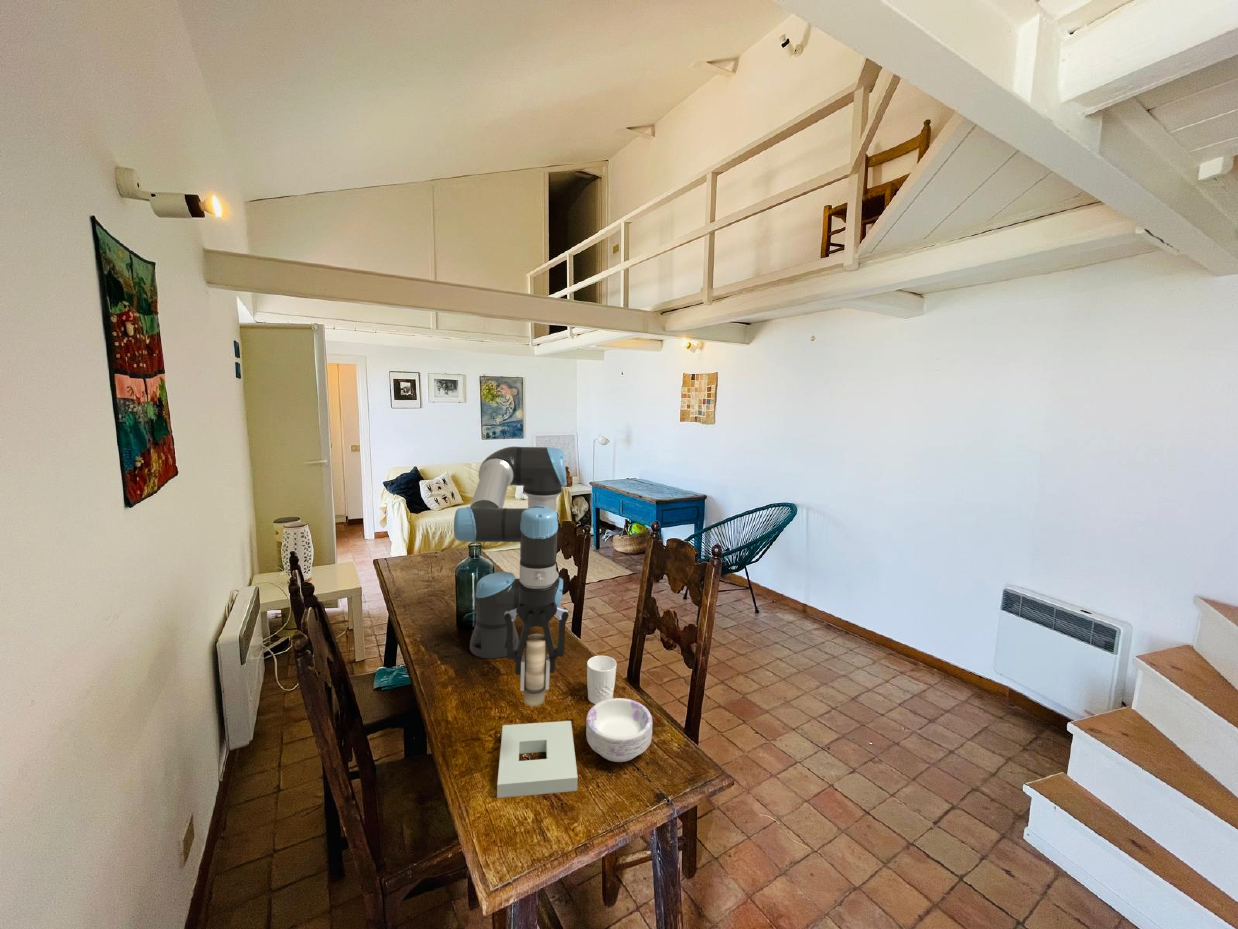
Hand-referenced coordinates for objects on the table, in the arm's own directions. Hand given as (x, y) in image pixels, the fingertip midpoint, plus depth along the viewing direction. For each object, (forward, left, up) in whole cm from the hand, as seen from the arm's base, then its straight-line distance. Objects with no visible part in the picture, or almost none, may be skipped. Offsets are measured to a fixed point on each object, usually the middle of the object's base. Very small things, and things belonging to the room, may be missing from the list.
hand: (534, 686), depth 106 cm
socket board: (0, +1, -18) cm, 18 cm away
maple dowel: (0, 0, -3) cm, 3 cm away
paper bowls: (-3, +20, -18) cm, 27 cm away
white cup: (-22, +18, -18) cm, 34 cm away
